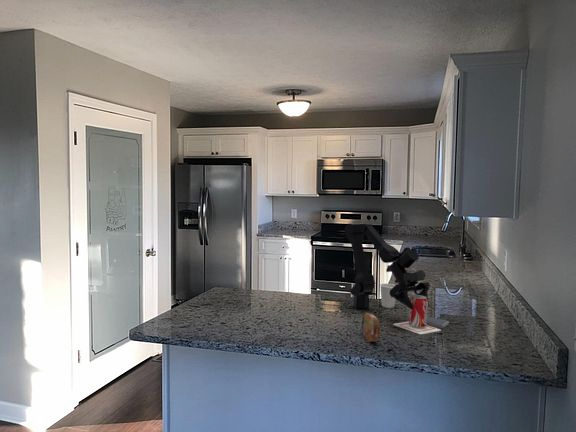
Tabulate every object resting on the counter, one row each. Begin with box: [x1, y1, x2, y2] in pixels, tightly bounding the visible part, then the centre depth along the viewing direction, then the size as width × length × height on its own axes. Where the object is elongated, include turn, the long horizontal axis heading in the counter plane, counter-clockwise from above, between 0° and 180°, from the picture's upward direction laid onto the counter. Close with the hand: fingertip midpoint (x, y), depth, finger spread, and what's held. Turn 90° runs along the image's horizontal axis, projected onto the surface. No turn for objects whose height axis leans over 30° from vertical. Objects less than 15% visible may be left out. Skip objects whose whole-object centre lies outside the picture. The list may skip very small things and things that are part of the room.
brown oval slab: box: [361, 312, 381, 343], centre depth 163 cm, size 15×3×8 cm, turn 5°
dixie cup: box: [379, 283, 396, 309], centre depth 212 cm, size 8×8×10 cm
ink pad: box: [426, 316, 450, 329], centre depth 187 cm, size 11×8×1 cm
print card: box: [392, 320, 442, 335], centre depth 180 cm, size 14×12×1 cm
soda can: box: [408, 294, 429, 328], centre depth 180 cm, size 7×7×12 cm
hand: (420, 307), depth 178 cm, fingers open, 9 cm apart
